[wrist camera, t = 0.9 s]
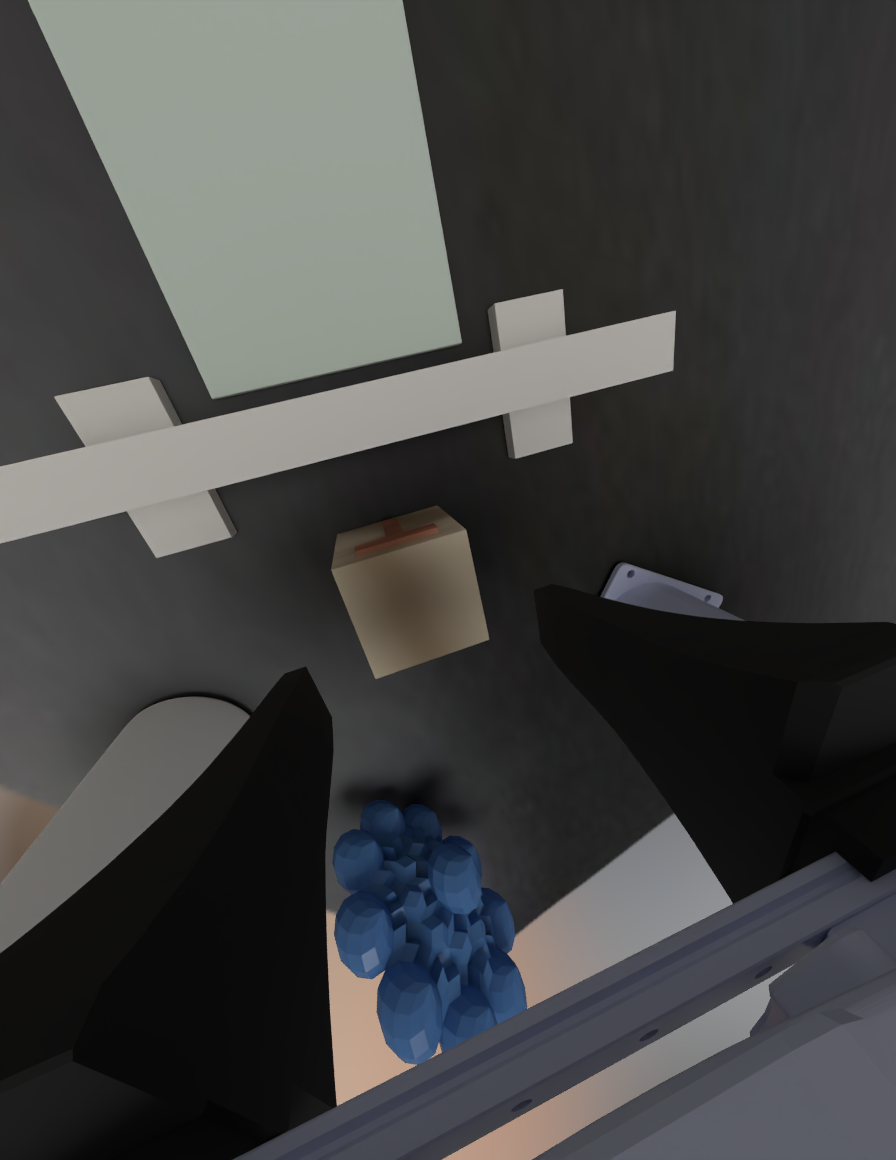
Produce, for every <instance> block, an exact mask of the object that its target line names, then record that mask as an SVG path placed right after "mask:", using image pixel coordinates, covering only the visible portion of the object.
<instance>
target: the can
mask: <svg viewBox="0 0 896 1160" xmlns="http://www.w3.org/2000/svg"><path fill="white" fill-rule="evenodd" d="M249 717H250V716H249V715H248V714H247V713H246V712H245V711H244V710H242V709H241V708H240V707H238V706H236V705H234V704H232V703H230V702H227V701H224V700H221V699H217V698H212V697H204V696H189V697H181V698H175V699H170V700H166V701H162V702H159V703H157V704H154V705H152V706H150V707H148V708H146V709H144V710H143V711H141V712H140V713H138V714H137V715H136V716H135V717H134V718H133V719H132V720H131V721H130V722H129V723H128V724H127V725H126V726H125V728H124V729H123V730H122V731H121V732H120V734H119V735H118V736H117V737H116V739H115V740H114V741H113V742H112V744H111V745H110V746H109V747H108V749H107V750H106V751H105V752H104V754H103V755H102V756H101V757H100V759H99V760H98V761H97V762H96V764H95V765H94V766H93V767H92V769H91V770H90V771H89V772H88V774H87V775H86V776H85V777H84V779H83V780H82V781H81V783H80V784H79V785H78V786H77V788H76V789H75V790H74V791H73V793H72V794H71V795H70V796H69V798H68V799H67V800H66V801H65V803H64V804H63V805H62V807H61V808H60V809H59V810H58V812H57V813H56V814H55V815H54V817H53V818H52V819H51V820H50V822H49V823H48V824H47V826H46V827H45V828H44V829H43V831H42V832H41V833H40V835H39V836H38V837H37V838H36V840H35V841H34V842H33V843H32V845H31V846H30V847H29V848H28V850H27V851H26V852H25V854H24V855H23V856H22V857H21V858H20V860H19V861H18V862H17V864H16V865H15V866H14V867H13V869H12V870H11V871H10V872H9V874H8V875H7V876H6V877H5V879H4V880H3V881H2V883H1V884H0V953H1V952H2V951H4V950H5V949H6V948H8V947H9V946H10V945H12V944H13V943H14V942H15V941H17V940H18V939H19V938H20V937H22V936H23V935H24V934H25V933H27V932H28V931H29V930H30V929H32V928H33V927H34V926H35V925H37V924H38V923H39V922H40V921H42V920H43V919H44V918H45V917H46V916H48V915H49V914H50V913H51V912H52V911H54V910H55V909H56V908H57V907H58V906H60V905H61V904H62V903H63V902H64V901H66V900H67V899H68V898H69V897H71V896H72V895H73V894H74V893H75V892H77V891H78V890H79V889H80V888H81V887H82V886H84V885H85V884H86V883H87V882H88V881H89V880H91V879H92V878H93V877H94V876H95V875H96V874H98V873H99V872H100V871H101V870H102V869H103V868H104V867H106V866H107V865H108V864H109V863H110V862H111V861H112V860H113V859H115V858H116V857H117V856H118V855H119V854H120V853H121V852H122V851H123V850H124V849H125V848H126V847H128V846H129V845H130V844H131V843H132V842H133V841H134V840H135V839H136V838H137V837H138V836H139V835H141V834H142V833H143V832H144V831H145V830H146V829H147V828H148V827H149V826H150V825H151V824H152V823H154V822H155V821H156V820H157V819H158V818H159V817H160V816H161V815H162V814H163V813H164V812H165V811H166V810H167V809H168V808H169V807H170V806H171V805H172V804H173V803H174V802H175V801H176V800H177V799H178V798H179V797H180V796H181V795H182V794H183V793H184V792H185V791H186V790H187V789H188V788H189V787H190V786H191V785H192V784H193V783H194V781H195V780H196V779H197V778H198V777H199V776H200V775H201V774H202V773H203V772H204V771H205V770H206V768H207V767H208V766H209V765H210V764H211V763H212V762H213V760H214V759H215V758H216V757H217V756H218V755H219V753H220V752H221V751H222V750H223V749H224V748H225V746H226V745H227V744H228V743H229V742H230V741H231V739H232V738H233V737H234V736H235V735H236V734H237V732H238V731H239V730H240V729H241V727H242V726H243V725H244V724H245V722H246V721H247V720H248V719H249Z"/></svg>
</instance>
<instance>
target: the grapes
mask: <svg viewBox="0 0 896 1160" xmlns="http://www.w3.org/2000/svg"><path fill="white" fill-rule="evenodd" d="M360 829H361V830H357V829H352V830H350V831H348V832H346V833H344V834H342V835H341V836H340V838H339V840H338V841H337V843H336V845H335V847H334V853H333V866H334V870H335V873H336V877H337V880H338V882H339V884H340V885H341V886H342V887H343V888H344V889H345V890H346V891H347V892H349V893H350V894H351V896H349V897H348V898H346V899H345V900H344V901H343V903H342V905H341V907H340V909H339V910H338V912H337V914H336V919H335V931H334V936H335V940H336V944H337V947H338V952H339V955H340V959H341V961H342V962H343V963H344V964H345V965H346V966H347V967H348V968H349V969H350V970H351V971H352V972H353V973H354V974H355V975H356V976H357V977H360V978H367V979H373V978H375V977H376V976H377V975H378V974H380V973H382V972H383V971H385V973H384V975H383V977H382V980H381V982H380V984H379V987H378V993H377V1014H378V1018H379V1021H380V1025H381V1029H382V1032H383V1035H384V1038H385V1041H386V1044H387V1045H388V1046H389V1047H390V1048H391V1049H392V1050H393V1052H395V1054H396V1055H397V1056H398V1057H399V1058H400V1059H401V1060H403V1061H404V1062H405V1063H410V1064H417V1065H419V1064H421V1063H423V1062H425V1061H427V1060H428V1059H429V1058H430V1057H432V1056H433V1055H434V1054H435V1053H436V1049H437V1046H438V1043H440V1047H441V1050H442V1052H444V1051H446V1050H448V1049H450V1048H452V1047H454V1046H456V1045H458V1044H460V1043H462V1042H464V1041H466V1040H468V1039H470V1038H472V1037H474V1036H476V1035H478V1034H480V1033H482V1032H483V1031H485V1030H487V1029H489V1028H491V1027H493V1026H495V1025H497V1024H499V1023H501V1022H503V1021H505V1020H507V1019H509V1018H511V1017H513V1016H515V1015H517V1014H519V1013H521V1012H523V1011H525V1010H527V1003H526V994H525V987H524V984H523V981H522V978H521V975H520V972H519V970H518V968H517V966H516V965H515V963H514V962H513V961H512V959H511V958H510V957H509V956H508V955H507V953H508V952H510V951H511V950H512V946H513V942H514V938H515V931H514V922H513V918H512V915H511V912H510V909H509V907H508V905H507V903H506V901H505V900H504V899H503V898H502V897H501V896H500V895H499V894H498V893H496V892H494V891H493V890H491V889H489V888H481V881H480V879H481V876H482V873H481V862H480V859H479V856H478V853H477V851H476V849H475V847H474V845H473V844H471V843H470V842H469V841H468V840H466V839H464V838H462V837H460V836H449V837H447V838H446V839H444V840H442V828H441V825H440V822H439V819H438V817H437V815H436V814H435V812H434V811H433V810H432V809H430V808H428V807H426V806H424V805H421V804H412V805H410V806H408V807H406V808H404V810H403V812H402V813H401V811H400V810H399V808H398V807H397V806H396V805H395V804H393V803H391V802H389V801H386V800H375V801H373V802H371V803H369V804H367V805H366V807H365V808H364V810H363V812H362V814H361V822H360Z"/></svg>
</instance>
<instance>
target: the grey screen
mask: <svg viewBox="0 0 896 1160" xmlns="http://www.w3.org/2000/svg"><path fill="white" fill-rule="evenodd" d="M488 316H489V323H490V331H491V338H492V345H493V352H494V353H490V354H486V355H482V356H477V357H473V358H469V359H464V360H460V361H456V362H451V363H447V364H443V365H438V366H434V367H430V368H425V369H421V370H417V371H412V372H408V373H404V374H399V375H395V376H391V377H386V378H382V379H378V380H373V381H369V382H365V383H360V384H356V385H352V386H347V387H343V388H339V389H334V390H330V391H326V392H321V393H317V394H313V395H309V396H304V397H300V398H296V399H291V400H287V401H283V402H278V403H274V404H270V405H265V406H261V407H257V408H252V409H248V410H244V411H239V412H235V413H231V414H226V415H222V416H218V417H213V418H209V419H205V420H200V421H196V422H192V423H187V424H183V425H182V423H181V421H180V419H179V417H178V415H177V413H176V411H175V409H174V407H173V405H172V403H171V401H170V399H169V397H168V396H167V394H166V392H165V390H164V388H163V386H162V384H161V382H160V380H157V379H154V378H150V377H145V378H140V379H135V380H131V381H126V382H121V383H116V384H112V385H107V386H102V387H98V388H93V389H88V390H83V391H79V392H74V393H69V394H64V395H60V396H55V397H54V398H55V399H56V401H57V402H58V404H59V406H60V407H61V409H62V410H63V412H64V413H65V415H66V417H67V418H68V420H69V421H70V423H71V424H72V426H73V428H74V429H75V431H76V432H77V434H78V435H79V437H80V439H81V440H82V442H83V443H84V445H85V446H86V447H84V448H79V449H75V450H71V451H66V452H62V453H58V454H53V455H49V456H45V457H40V458H36V459H32V460H27V461H23V462H19V463H14V464H10V465H6V466H1V467H0V543H4V542H8V541H12V540H16V539H20V538H24V537H27V536H31V535H35V534H39V533H43V532H47V531H51V530H55V529H59V528H62V527H66V526H70V525H74V524H78V523H82V522H86V521H90V520H94V519H97V518H101V517H105V516H109V515H113V514H117V513H121V512H125V511H127V512H128V514H129V516H130V517H131V519H132V520H133V522H134V523H135V525H136V527H137V528H138V530H139V531H140V533H141V534H142V536H143V538H144V539H145V541H146V542H147V544H148V545H149V547H150V549H151V550H152V552H153V553H154V555H155V557H156V558H159V557H162V556H166V555H169V554H173V553H177V552H180V551H184V550H187V549H191V548H195V547H198V546H202V545H206V544H209V543H213V542H216V541H220V540H224V539H227V538H231V537H233V536H234V535H235V534H236V533H237V531H236V529H235V527H234V525H233V523H232V521H231V519H230V517H229V515H228V513H227V511H226V509H225V507H224V505H223V503H222V501H221V500H220V498H219V496H218V494H217V492H216V490H215V488H218V487H222V486H226V485H230V484H234V483H237V482H241V481H245V480H249V479H253V478H257V477H261V476H265V475H269V474H272V473H276V472H280V471H284V470H288V469H292V468H296V467H300V466H304V465H307V464H311V463H315V462H319V461H323V460H327V459H331V458H335V457H339V456H342V455H346V454H350V453H354V452H358V451H362V450H366V449H370V448H374V447H377V446H381V445H385V444H389V443H393V442H397V441H401V440H405V439H409V438H412V437H416V436H420V435H424V434H428V433H432V432H436V431H440V430H444V429H447V428H451V427H455V426H459V425H463V424H467V423H471V422H475V421H479V420H482V419H486V418H490V417H494V416H498V415H503V422H504V429H505V436H506V443H507V450H508V457H509V458H514V459H516V458H520V457H524V456H527V455H531V454H534V453H538V452H542V451H545V450H549V449H552V448H556V447H560V446H563V445H567V444H571V443H573V440H572V424H571V409H570V397H572V396H576V395H580V394H584V393H587V392H591V391H595V390H599V389H603V388H607V387H611V386H615V385H619V384H622V383H626V382H630V381H634V380H638V379H642V378H646V377H650V376H654V375H657V374H661V373H665V372H669V371H673V359H674V338H675V317H676V311H672V312H668V313H663V314H659V315H655V316H650V317H646V318H642V319H637V320H633V321H629V322H624V323H620V324H616V325H611V326H607V327H603V328H598V329H594V330H590V331H585V332H581V333H577V334H572V335H568V336H566V332H565V317H564V302H563V289H561V290H557V291H552V292H547V293H542V294H538V295H533V296H528V297H523V298H519V299H514V300H509V301H504V302H500V303H495V304H494V305H493V306H491V307H490V308H489V309H488Z"/></svg>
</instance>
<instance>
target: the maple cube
mask: <svg viewBox="0 0 896 1160" xmlns="http://www.w3.org/2000/svg"><path fill="white" fill-rule="evenodd" d="M331 571H332V574H333V576H334V578H335V581H336V583H337V586H338V588H339V591H340V593H341V596H342V598H343V601H344V603H345V605H346V608H347V610H348V613H349V615H350V618H351V620H352V623H353V625H354V627H355V630H356V632H357V635H358V637H359V640H360V642H361V645H362V647H363V650H364V652H365V654H366V657H367V659H368V662H369V664H370V667H371V669H372V672H373V674H374V677H375V679H377V678H380V677H383V676H386V675H389V674H392V673H395V672H398V671H400V670H403V669H406V668H409V667H412V666H415V665H418V664H421V663H423V662H426V661H429V660H432V659H435V658H438V657H441V656H444V655H446V654H449V653H452V652H455V651H458V650H461V649H464V648H467V647H469V646H472V645H475V644H478V643H481V642H484V641H487V640H489V636H488V631H487V626H486V621H485V617H484V612H483V607H482V602H481V598H480V593H479V588H478V583H477V578H476V574H475V569H474V564H473V559H472V555H471V550H470V545H469V540H468V536H467V531H466V529H465V528H464V527H463V526H461V525H460V524H459V523H458V522H457V521H455V520H454V519H453V518H452V517H451V516H449V515H448V514H447V513H446V512H445V511H443V510H442V509H441V508H440V507H439V506H433V507H430V508H426V509H423V510H419V511H416V512H412V513H409V514H405V515H402V516H398V517H394V518H391V519H387V520H384V521H381V522H377V523H374V524H371V525H367V526H364V527H360V528H357V529H353V530H350V531H346V532H343V533H339V534H337V538H336V544H335V550H334V556H333V562H332V568H331Z"/></svg>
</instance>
